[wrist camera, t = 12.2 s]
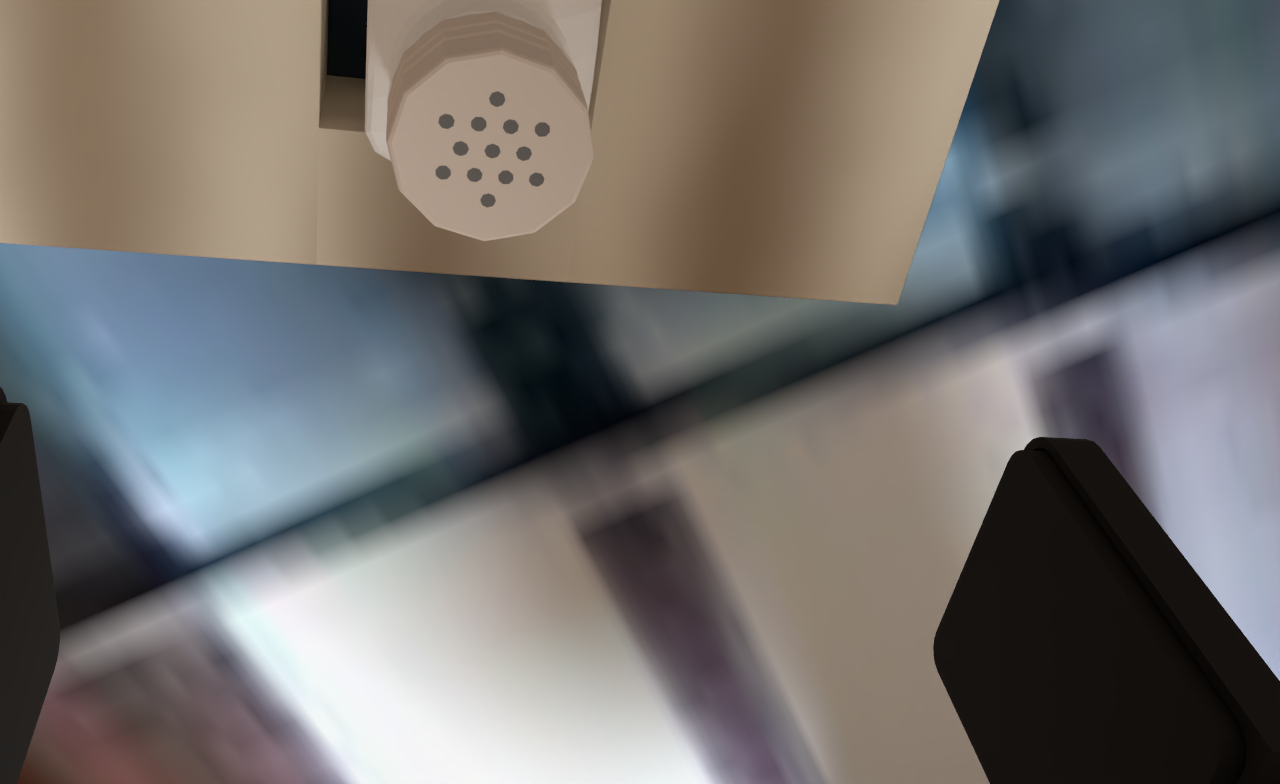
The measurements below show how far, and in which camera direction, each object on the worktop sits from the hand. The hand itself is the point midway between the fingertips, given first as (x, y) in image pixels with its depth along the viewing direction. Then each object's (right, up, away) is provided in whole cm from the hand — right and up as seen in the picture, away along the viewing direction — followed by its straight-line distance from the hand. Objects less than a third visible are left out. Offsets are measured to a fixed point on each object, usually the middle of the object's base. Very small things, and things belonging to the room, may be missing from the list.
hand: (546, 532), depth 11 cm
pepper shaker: (-3, +11, +15) cm, 18 cm away
